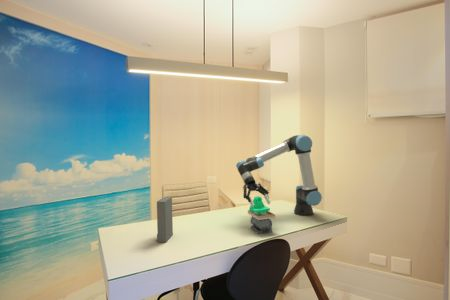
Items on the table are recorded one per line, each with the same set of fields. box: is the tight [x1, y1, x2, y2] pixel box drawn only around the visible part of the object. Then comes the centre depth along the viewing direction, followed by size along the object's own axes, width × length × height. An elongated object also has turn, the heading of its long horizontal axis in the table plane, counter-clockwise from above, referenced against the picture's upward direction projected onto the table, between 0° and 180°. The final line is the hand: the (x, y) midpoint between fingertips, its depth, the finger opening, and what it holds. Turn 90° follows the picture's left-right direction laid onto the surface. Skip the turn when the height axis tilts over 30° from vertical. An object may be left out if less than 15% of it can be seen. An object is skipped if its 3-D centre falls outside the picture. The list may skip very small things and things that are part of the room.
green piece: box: [249, 195, 271, 214], centre depth 186 cm, size 12×8×10 cm, turn 119°
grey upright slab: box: [156, 196, 174, 243], centre depth 172 cm, size 14×6×25 cm, turn 174°
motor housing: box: [247, 210, 276, 235], centre depth 185 cm, size 12×16×12 cm
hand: (261, 204), depth 184 cm, fingers open, 13 cm apart
